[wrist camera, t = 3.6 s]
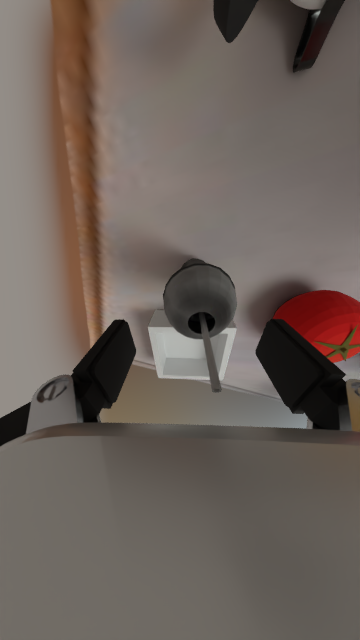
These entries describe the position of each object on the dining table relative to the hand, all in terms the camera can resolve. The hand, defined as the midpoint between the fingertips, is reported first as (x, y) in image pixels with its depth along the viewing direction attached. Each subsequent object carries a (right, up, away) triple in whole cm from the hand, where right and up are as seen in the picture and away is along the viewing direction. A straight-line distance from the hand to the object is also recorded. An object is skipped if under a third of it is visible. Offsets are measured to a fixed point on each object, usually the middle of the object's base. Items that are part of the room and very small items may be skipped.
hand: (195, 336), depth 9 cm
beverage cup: (+2, +10, +14) cm, 17 cm away
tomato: (+22, +3, +17) cm, 28 cm away
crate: (+1, -3, +22) cm, 22 cm away
